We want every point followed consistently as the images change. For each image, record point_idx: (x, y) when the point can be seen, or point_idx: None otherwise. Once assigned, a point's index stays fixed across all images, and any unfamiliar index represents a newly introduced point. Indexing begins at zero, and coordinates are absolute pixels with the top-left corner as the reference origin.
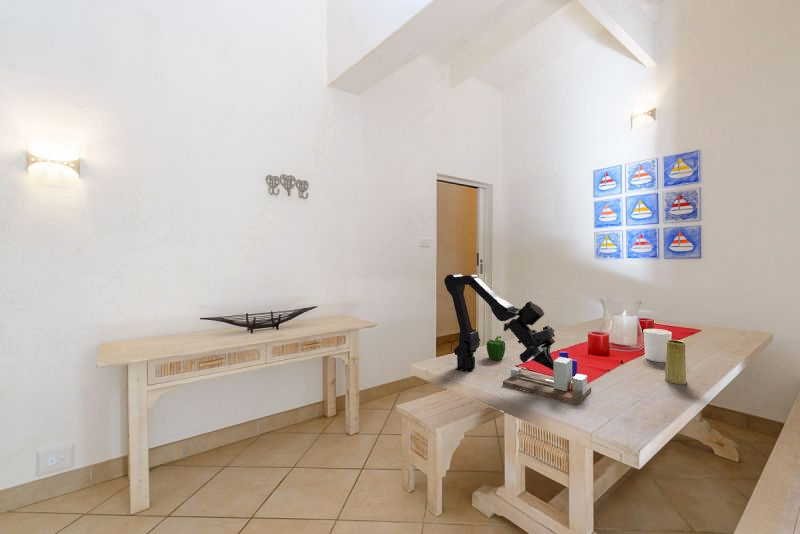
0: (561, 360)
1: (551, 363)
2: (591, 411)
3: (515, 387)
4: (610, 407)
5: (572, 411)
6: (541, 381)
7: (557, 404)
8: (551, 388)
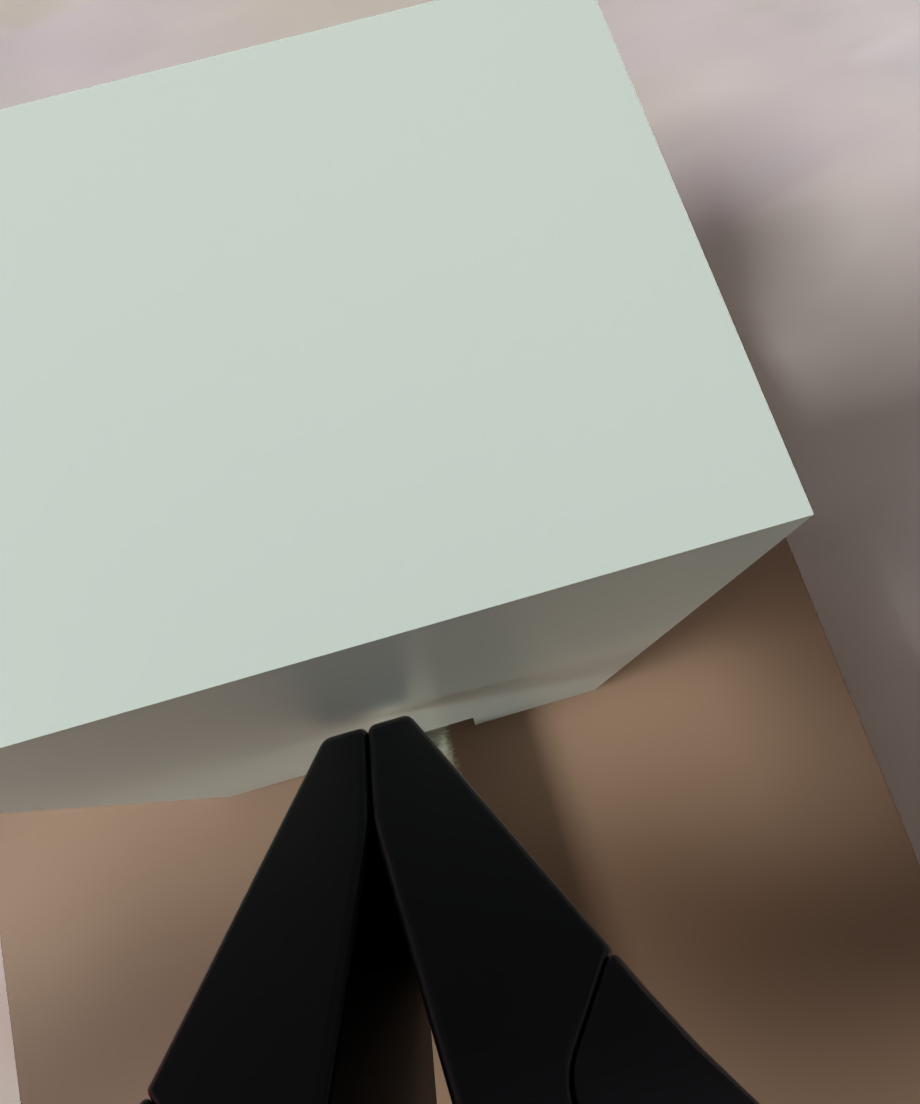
0: (328, 337)
1: (527, 851)
2: (656, 69)
3: None
4: (346, 18)
5: (877, 181)
6: None
7: (884, 409)
8: (601, 739)
